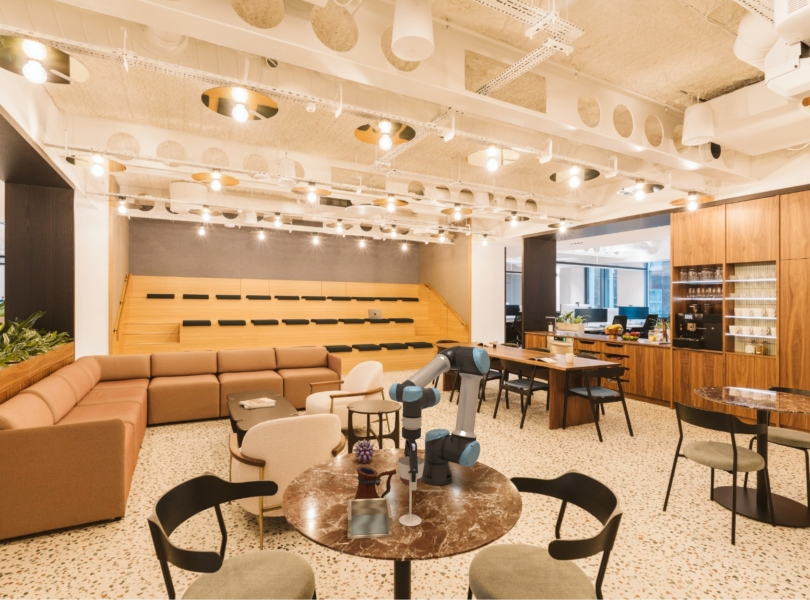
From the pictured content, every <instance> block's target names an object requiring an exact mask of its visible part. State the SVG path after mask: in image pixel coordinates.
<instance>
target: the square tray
mask: <svg viewBox="0 0 810 600" xmlns="http://www.w3.org/2000/svg"><path fill="white" fill-rule="evenodd" d="M353 499H354V498H353ZM353 499H348V500H347V540H351V539H353V540H354V539H355V540H356V539H368V538H369V539H372V538H389V537H390V538H391V537H393V519H394V518H393V513H392V507H391V502H390V498H389V497H384V498H381V497H380V498H376V499H354V500H353Z"/></svg>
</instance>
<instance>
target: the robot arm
mask: <svg viewBox="0 0 810 600" xmlns="http://www.w3.org/2000/svg"><path fill="white" fill-rule="evenodd" d="M490 367H491V359H490V354H489V353H488V351H487V350H486V349H485V348H483V347H474V346H464V345H462V346H461V345H455V346H454V345H453V346H450V347H448V348H445V349H443V350H441V351H440V352H438V353H437V354H436V355H434V356H433V359H432V360H431V361H430V362H428V363H427V364H425V365H424V366H423V367H421V368H420V369H419V370H418V371H416V372H415V373H413V375H410V377H408V378H406V379H405V380H404V381H403V382H402V383H399V382H398V383H396V382H395V383H392V384H391V385H390V387H389V390H388V396H389V398H390V400H392V401H394V402H398V403H402V418H400V422H401V425H402V427H401V437H402V438H403V439H405V443H404V451H403V455H404V457H407V456H409V461H410V471H408V473H409V486H408V490H412V491H417V489H418V487H417V485H418V484H417V473H418V460H417V457H418V443H417V441H416V440H419V439H421V438H422V420H423V419H422V411H423V410H425V409H427V408H432V407H435V406H437V405H438V404H439V403H440V401H441V398H442V397H441V393H440V391H439V389H437V388H436V387H427V386H428V385H429V384H431V383H432V382H433V381H434V380H435V379H437V378H438V377H439V376H440V375H442V374H443V373H448V372H449V371H451V370H457V371H458V374H459V376H460V377H461V380H460V381H461V382H460V383H461V384H460V390H459V398H458V405H457V412H456V421H455V429H453V431H451V433H450V430H449V429H446V428H434V429H429V430H428V431H427V432H426V433H425V437H424V468H423V474H422V479H421V481H422V482H423V483H425V484H427V485H431V486H445V485H449V484H450V483H452V481H453V473H452V469H451V466H450V463H453V464H456V465H459V466H461V467H467V468H470V467H472V466H474V465H475V464H476V462H477V461H478V459H479V457H480V453H481V444H480V442H479V441H477V437H478V436H477V435H476V434H475V424H476V418H477V410H478V409H477V407H478V401H479V400H478V399H479V392H480V391H479V390H480V383H481V380H482V379H484V376H485V374H487V373H488V372H489V371H490ZM426 387H427V388H426ZM413 469H415V470H413Z"/></svg>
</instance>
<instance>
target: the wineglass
mask: <svg viewBox="0 0 810 600" xmlns="http://www.w3.org/2000/svg"><path fill="white" fill-rule="evenodd" d="M417 460H418V473H417V485H419V484H420V483H421V481H422V480H421V479H422V474H423V468H424V463H425V459H423V458H421V457H418V456H417ZM397 464H398V467H397V468H398V475H399V480H400V482H401V483H402V484H404V485H405V486H407V487H409V473H408V471H410V461H409V456H407V457H405V456H403V457H400V458H398V461H397ZM413 470H415V469H413ZM408 490H409V489H408ZM412 491H413V490H409V496H408V498H409V499H408V501H409V502H408V503H409V505H408V509H409V510H408V514H403V515H402V516H399V518H398V521H399V523H400V524H401V525H403V526H407V527H415V526H418V525H420V524H421V523H422V519H421V517H420V516H419V515H416V514H413V513H412V494H413V493H412Z"/></svg>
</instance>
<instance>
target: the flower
mask: <svg viewBox="0 0 810 600" xmlns="http://www.w3.org/2000/svg"><path fill="white" fill-rule="evenodd" d="M357 442H358V443H357V444H358V445H356V444H355V445H354V447H356V448H354V449H353V452H354V454H355V455H354V458H358V460H357V461H358V462H360V461H363V463H366V461H369V462H371V460H372V457H373V458H375V455H374V454H375V452H376V449H374V447H375V443H371V440H368V441H366V438H365V439H363V440H362V441H361V440H358V441H357Z"/></svg>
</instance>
